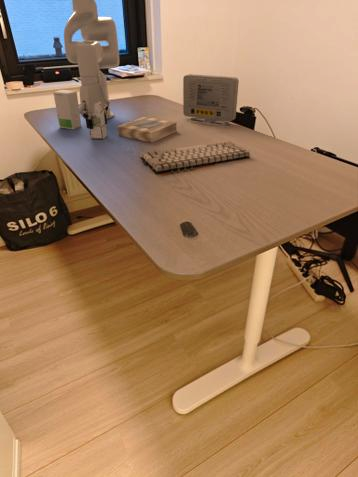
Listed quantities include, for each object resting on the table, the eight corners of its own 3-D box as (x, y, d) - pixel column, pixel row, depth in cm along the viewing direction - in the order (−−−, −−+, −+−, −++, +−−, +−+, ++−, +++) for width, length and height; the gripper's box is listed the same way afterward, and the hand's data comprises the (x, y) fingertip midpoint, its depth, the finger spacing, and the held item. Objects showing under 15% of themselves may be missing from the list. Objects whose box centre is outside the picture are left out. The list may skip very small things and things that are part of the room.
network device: (236, 122, 160) (240, 76, 149) (230, 127, 154) (233, 79, 142) (188, 116, 170) (189, 73, 159) (180, 121, 164) (180, 75, 152)
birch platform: (118, 135, 145) (117, 125, 143) (144, 125, 158) (144, 116, 155) (151, 142, 137) (151, 132, 134) (176, 131, 149) (176, 121, 147)
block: (191, 227, 85) (191, 220, 84) (199, 238, 80) (200, 232, 79) (177, 228, 84) (178, 221, 83) (184, 239, 79) (185, 232, 78)
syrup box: (107, 135, 145) (102, 99, 137) (103, 139, 140) (98, 103, 132) (94, 134, 146) (89, 99, 137) (90, 139, 141) (84, 102, 132)
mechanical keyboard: (226, 145, 136) (227, 136, 134) (253, 161, 121) (254, 151, 119) (137, 160, 123) (137, 151, 121) (156, 180, 109) (156, 170, 107)
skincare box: (59, 127, 156) (51, 91, 147) (68, 124, 161) (61, 89, 152) (74, 129, 153) (67, 93, 144) (82, 125, 158) (76, 90, 149)
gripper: (99, 76, 138) (105, 119, 148) (66, 82, 126) (75, 130, 136) (113, 77, 134) (118, 122, 145) (80, 84, 123) (88, 133, 133)
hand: (97, 125), depth 140 cm, fingers closed on syrup box, 7 cm apart
